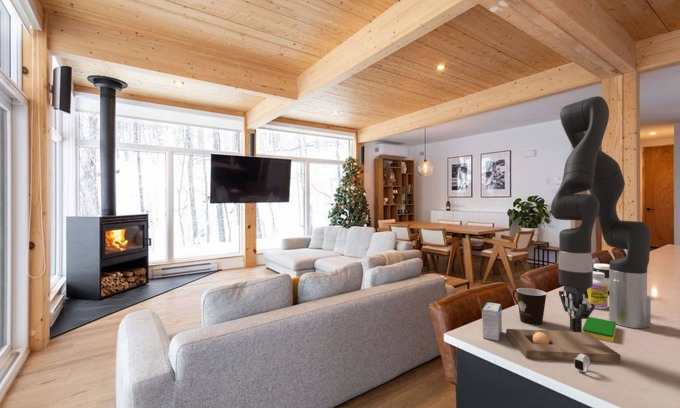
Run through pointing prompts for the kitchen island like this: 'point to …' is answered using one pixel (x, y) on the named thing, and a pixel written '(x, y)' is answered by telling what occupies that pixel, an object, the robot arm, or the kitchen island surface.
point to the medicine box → (492, 321)
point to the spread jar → (603, 271)
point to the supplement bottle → (598, 291)
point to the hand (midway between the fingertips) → (575, 331)
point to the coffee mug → (530, 305)
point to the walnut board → (562, 345)
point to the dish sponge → (600, 328)
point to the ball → (540, 338)
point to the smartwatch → (582, 362)
